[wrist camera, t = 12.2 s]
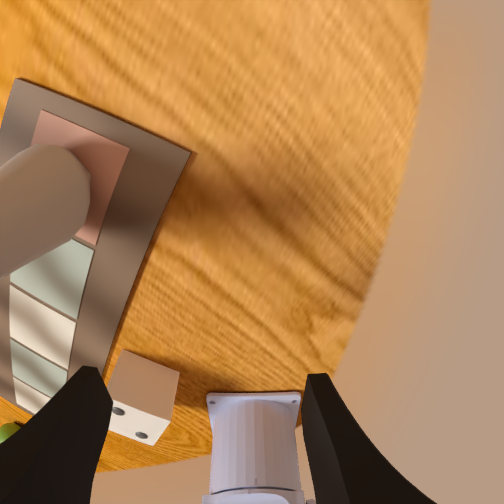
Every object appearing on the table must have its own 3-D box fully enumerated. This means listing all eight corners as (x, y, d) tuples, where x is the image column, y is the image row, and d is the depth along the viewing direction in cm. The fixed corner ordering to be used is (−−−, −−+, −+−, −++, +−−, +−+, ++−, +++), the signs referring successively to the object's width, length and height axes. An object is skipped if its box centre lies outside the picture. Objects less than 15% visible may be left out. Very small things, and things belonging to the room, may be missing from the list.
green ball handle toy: (37, 444, 34) (15, 503, 23) (3, 421, 32) (-22, 479, 21) (43, 436, 32) (19, 501, 21) (6, 411, 30) (-23, 475, 19)
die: (162, 401, 26) (152, 446, 22) (111, 380, 25) (95, 424, 21) (180, 371, 24) (170, 422, 20) (122, 347, 23) (103, 396, 19)
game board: (84, 439, 31) (83, 442, 31) (-1, 392, 28) (-3, 395, 28) (191, 152, 16) (190, 153, 16) (17, 78, 13) (14, 78, 13)
